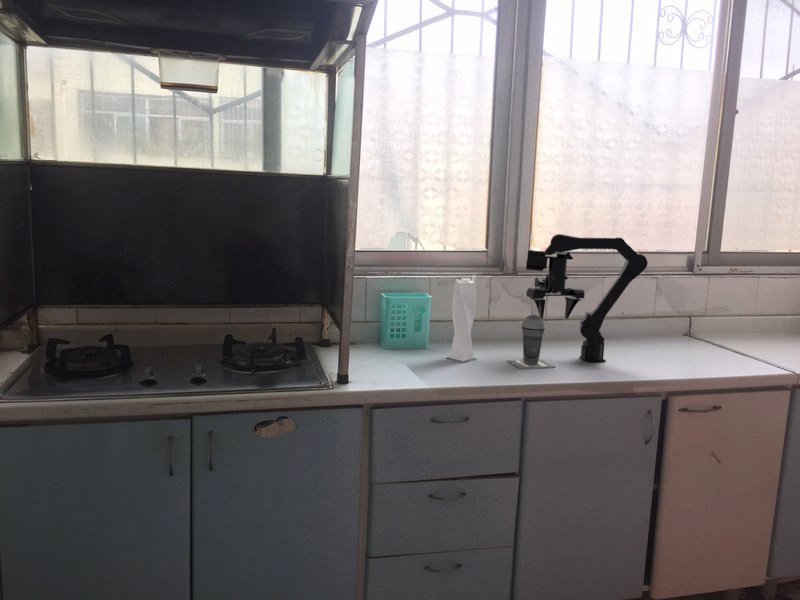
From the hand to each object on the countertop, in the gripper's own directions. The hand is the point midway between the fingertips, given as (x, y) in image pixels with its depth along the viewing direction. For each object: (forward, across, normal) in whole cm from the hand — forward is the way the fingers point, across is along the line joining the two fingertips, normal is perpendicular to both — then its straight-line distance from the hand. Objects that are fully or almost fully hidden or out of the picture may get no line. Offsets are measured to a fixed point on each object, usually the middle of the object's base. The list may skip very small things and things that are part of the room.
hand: (553, 318), depth 229 cm
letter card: (+13, +12, +9) cm, 20 cm away
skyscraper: (+13, +32, 0) cm, 35 cm away
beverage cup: (+13, +12, +9) cm, 20 cm away
